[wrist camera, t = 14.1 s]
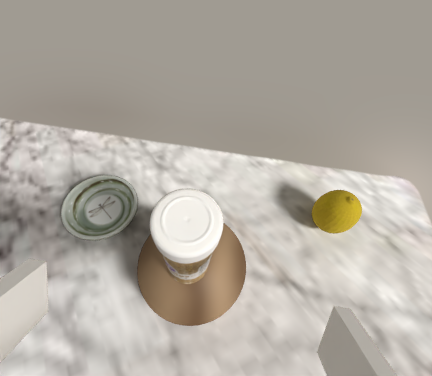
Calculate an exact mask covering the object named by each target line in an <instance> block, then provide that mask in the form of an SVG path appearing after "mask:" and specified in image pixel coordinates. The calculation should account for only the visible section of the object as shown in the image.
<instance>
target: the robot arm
mask: <svg viewBox="0 0 432 376" xmlns="http://www.w3.org/2000/svg"><path fill="white" fill-rule="evenodd" d="M47 312H48V289H47V262H46V261H41V260H35V259H28V260H27V261H25V262H24V263H22V264H21V265H19V266H18V267H16V268H15V269H14V270H12V271H11V272H9V273H8V274H6V275H5V276H3V277H2V278H1V279H0V363H1V362H2V361H3V359H4V358H5V357H6V356H7V355H8V354H9V353H10V352H11V351H12V350H13V349H14V348H15V347H16V346H17V344H18V343H19V342H20V341H21V340H22V339H23V338H24V337H25V336H26V335H27V334H28V333H29V332H30V331H31V329H32V328H33V327H34V326H35V325H36V324H37V323H38V322H39V321H40V320H41V319H42V318H43V317H44V316H45V314H46V313H47ZM317 353H318V355H319V358H320V360H321V362H322V365H323V367H324V370H325V372H326V374H327V376H397V374H396V373H395V371H394V370H393V369H392V367H391V366H390V364H389V363H388V362H387V360H386V359H385V357H384V356H383V354H382V353H381V352H380V350H379V349H378V347H377V346H376V345H375V343H374V342H373V340H372V339H371V337H370V336H369V335H368V333H367V332H366V330H365V329H364V328H363V326H362V325H361V323H360V322H359V320H358V319H357V318H356V316H355V315H354V313H353V312H352V311H351V309H350V308H343V307H337V306H334V307H333V310H332V312H331V315H330V318H329V321H328V323H327V326H326V329H325V332H324V334H323V337H322V340H321V343H320V345H319V348H318V351H317Z"/></svg>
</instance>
